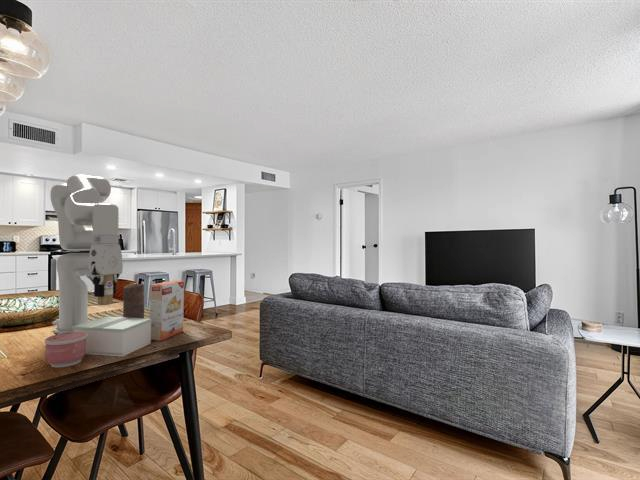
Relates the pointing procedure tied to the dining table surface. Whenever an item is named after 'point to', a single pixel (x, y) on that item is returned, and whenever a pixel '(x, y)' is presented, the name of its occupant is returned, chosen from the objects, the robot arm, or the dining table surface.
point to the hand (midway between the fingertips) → (105, 294)
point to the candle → (133, 301)
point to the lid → (112, 324)
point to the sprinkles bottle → (107, 291)
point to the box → (117, 341)
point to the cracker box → (166, 309)
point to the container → (65, 349)
